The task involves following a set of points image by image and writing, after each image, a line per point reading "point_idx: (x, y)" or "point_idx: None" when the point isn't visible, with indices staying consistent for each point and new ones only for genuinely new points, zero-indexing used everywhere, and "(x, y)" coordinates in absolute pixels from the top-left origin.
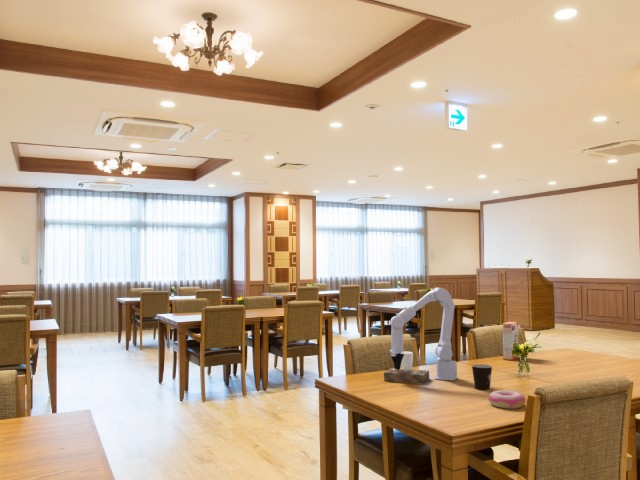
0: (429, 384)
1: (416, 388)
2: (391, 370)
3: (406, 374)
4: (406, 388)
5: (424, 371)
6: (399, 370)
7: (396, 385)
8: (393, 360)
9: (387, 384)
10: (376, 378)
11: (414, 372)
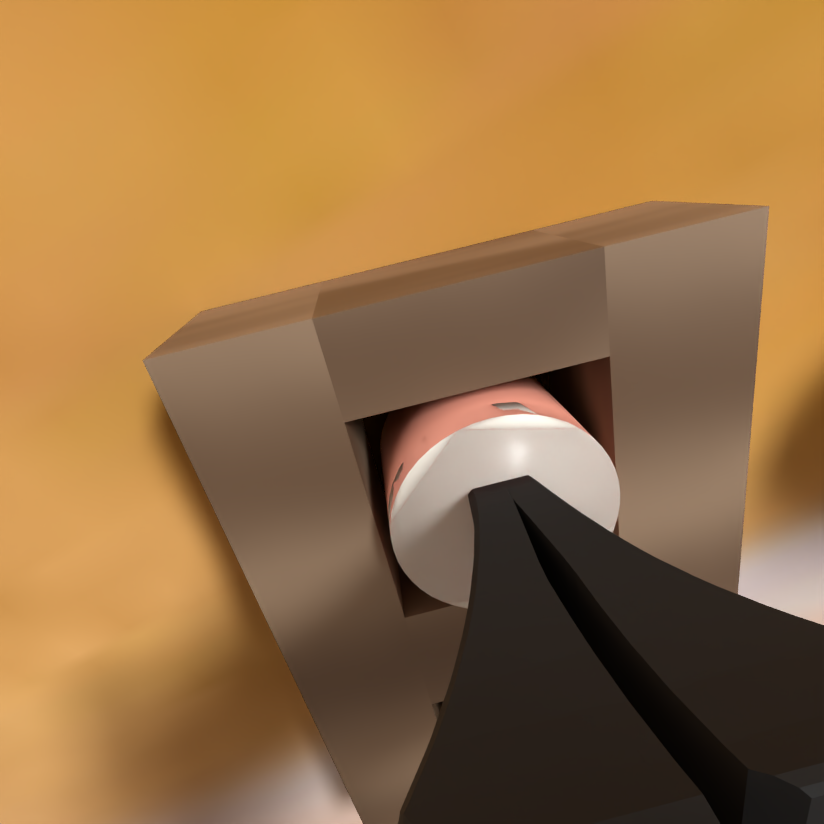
0: None
1: (141, 803)
2: (470, 377)
3: (318, 724)
4: (48, 754)
5: None
6: (429, 591)
7: (80, 613)
8: (456, 677)
9: (20, 498)
10: (286, 34)
11: None
